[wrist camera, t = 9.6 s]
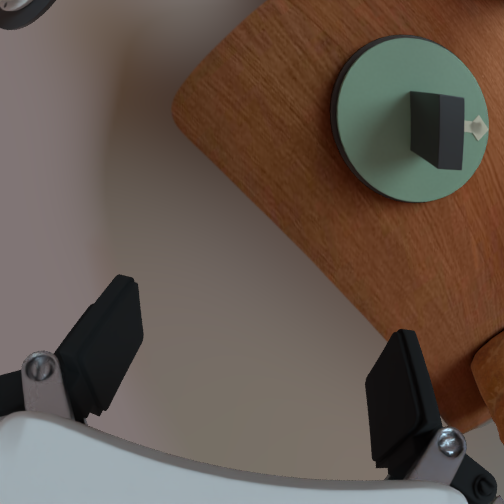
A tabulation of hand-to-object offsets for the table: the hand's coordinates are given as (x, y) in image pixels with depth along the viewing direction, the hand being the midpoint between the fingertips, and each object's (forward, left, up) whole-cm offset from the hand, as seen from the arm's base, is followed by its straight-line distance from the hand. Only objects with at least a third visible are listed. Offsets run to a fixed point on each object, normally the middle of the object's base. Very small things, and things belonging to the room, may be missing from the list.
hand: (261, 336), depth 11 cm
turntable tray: (+12, +8, -23) cm, 27 cm away
